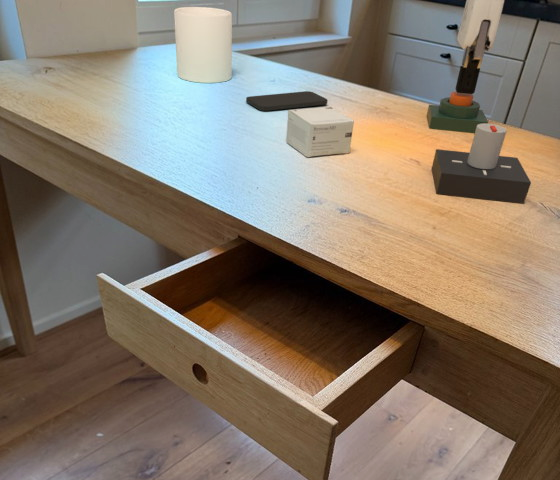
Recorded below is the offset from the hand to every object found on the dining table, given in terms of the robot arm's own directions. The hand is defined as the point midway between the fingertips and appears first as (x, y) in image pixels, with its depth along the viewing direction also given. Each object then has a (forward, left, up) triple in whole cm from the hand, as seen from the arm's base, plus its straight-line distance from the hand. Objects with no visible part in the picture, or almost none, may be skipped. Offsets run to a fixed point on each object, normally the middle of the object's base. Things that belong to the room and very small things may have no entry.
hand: (464, 92), depth 101 cm
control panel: (0, +30, -6) cm, 30 cm away
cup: (+52, -18, -6) cm, 56 cm away
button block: (0, 0, -6) cm, 6 cm away
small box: (+24, +21, -6) cm, 33 cm away
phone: (+32, -3, -6) cm, 33 cm away
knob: (0, +30, -3) cm, 30 cm away
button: (0, 0, -2) cm, 2 cm away
